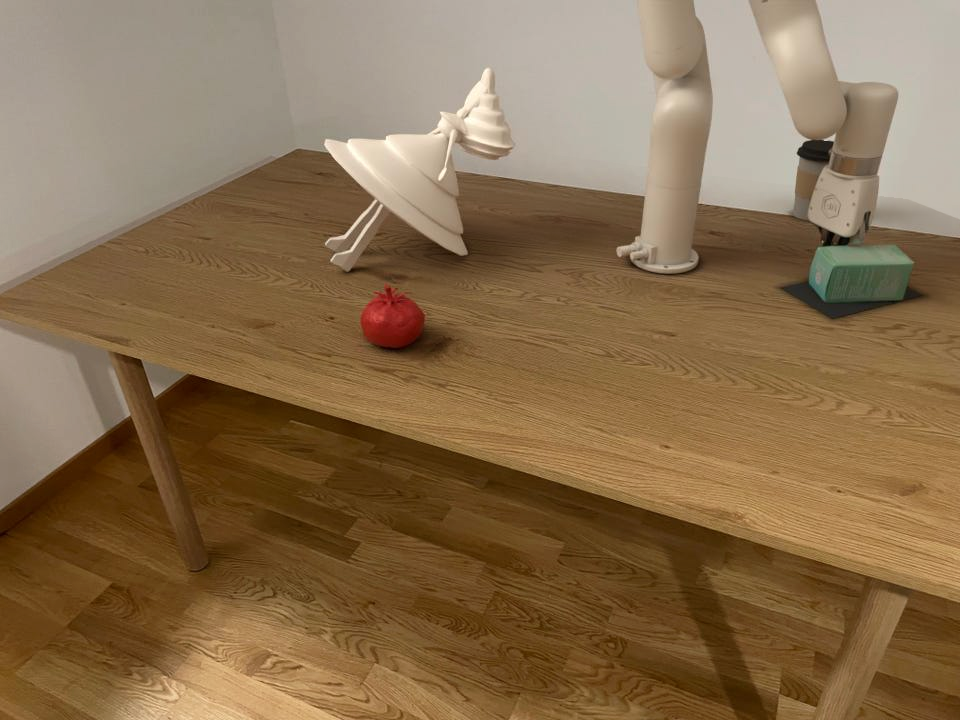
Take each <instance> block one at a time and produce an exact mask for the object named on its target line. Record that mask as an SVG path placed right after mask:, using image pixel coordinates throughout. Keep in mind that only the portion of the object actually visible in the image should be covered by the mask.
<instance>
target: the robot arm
mask: <svg viewBox="0 0 960 720" xmlns="http://www.w3.org/2000/svg"><path fill="white" fill-rule="evenodd" d="M747 1H748V2H749V3H748V4H749V6H750V9H751V12H752V16H753V17H754V21H755V24H756V26H757V30H758V33H759V35H760V38H761V42H762V44H763V47H764V50H765V51H766V53H767V55H768V57H769V58H770V61H771V63H772V66H773V68H774V71H775V74H776V77H777V79H778V82H779V85H780V89H781V91H782V94H783V97H784V99H785V100H784V101H785V102H786V105H787V108H788V111H789V114H790V116H791V120H792V123H793V126H794V128H795V130H796V131H797V133H798V134H799V135H801V136H802V137H803V138H805V139H807V140H827V139H829V138H830V137H833V136H834V135H835V136H834V140H833V141H834V144H833V148H831V149H830V150H829V151H828V155H829V156H831V157H830V161H829V165H826V166H825V167H824V168H823V170H822V172H821V174H820V176H819V179H818V181H817V184H816V186H815V189H814V192H813V195H812V199H811V202H810V206H809V210H808V219H809V220H810V221H809V222H811V224H812V225H813V226H814V227H815V228H817V229H818V231H819V234H820V243H822V247H826V246H849V244H852V245H861V244H864V243H865V237H866V234H867V233H869V231H870V229H871V227H872V224H873V220H874V217H875V213H876V208H877V203H878V198H879V197H878V196H879V189H880V176H879V175H878V173H879V169H880V166H881V162H882V158H883V154H884V152H885V148H886V145H887V140H888V136H889V133H890V130H891V126H892V122H893V119H894V115H895V111H896V108H897V104H898V100H899V91H898V89H897V88H896V86H894V85H892V84H890V83H883V82H876V81H863V82H849V81H843V80H842V81H841V80H839V77H838V75H837V72H836V68H835V66H834V63H833V60H832V56H831V52H830V50H829V46H828V44H827V43H828V42H827V40H826V35H825V31H824V27H823V21H822V18H821V14H820V11H819V7H818V4H817V1H816V0H747ZM637 8H638V9H637V10H638V17H639V24H640V29H641V30H640V32H641V37H642V44H643V45H642V47H643V57H644V60H645V63H646V66H647V67H648V69H649V70H650V71H651V72H652V76H653V82H654V87H655V93H656V99H657V100H656V103H655V105H654V109H653V112H652V115H651V116H652V118H651V122H650V123H651V124H650V132H649V133H650V134H649V135H650V136H649V150H648V159H647V160H648V161H647V171H646V182H645V191H644V199H643V209H642V219H641V229H640V235H637V236H635V237H634V242H631V244H628V245H627V244H626V245H620V246H617V247H616V255H617V257H618V258H623V257H628V256H629V259H630V262H632V264H634V265H635V266H636V267H637V268H640V269H642V270H644V271H648V272H652V273H655V274H666V275H669V274H670V275H671V274H672V275H673V274H682V273H686V272H689V271H691V270H694V269H695V268H696V267H697V266H698V264H699V260H700V259H699V258H700V257H699V254H698V252H697V251H695V250H694V249H693V241H694V235H695V228H696V221H697V214H698V208H699V201H700V196H701V195H700V194H701V188H702V181H703V180H702V179H703V174H704V166H705V160H706V154H707V148H708V141H709V139H710V138H709V137H710V133H711V132H710V131H711V126H712V120H713V119H712V118H713V108H714V107H713V104H714V95H713V88H712V80H711V72H710V64H709V57H708V56H709V55H708V49H707V42H706V35H705V30H704V29H705V28H704V26H703V23H702V22H701V20H700V19H699V18H698V16H697V14H696V8H695V1H694V0H637Z"/></svg>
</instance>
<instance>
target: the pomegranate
mask: <svg viewBox="0 0 960 720" xmlns="http://www.w3.org/2000/svg"><path fill="white" fill-rule="evenodd" d="M398 290H399V288H398V287H393V288H392V287H391V286H390V285H389V284H386V285H384V291H385V292H386V293H383V292H382V291H374V290H373V291H372V293H373V294H375V296H374V297H373V298H372V299H371V300H370V301H369V302H368V303H367V304H366V306H365V307H364V309H363V310H362V313H361V315H360V327H361V331H362V334H363V335H364V337H365V339H367V340H368V341H369V342H370V343H372V344H374V345H376V346H378V347H382V348H383V347H384V348H392V349H399V348H403V347H406V346H407V345H410V344H412V343H414V342H415V341H416V340H417V339H418V338H419V337H420V336H421V334H422V332H423V329H424V326H425V322H426V320H425V319H426V313H425V312H424V310H422V309H421V308H420V306H419V305H418V304H417V303H416V301H414V300H412V299H410V298H409V297H406V296H405V295H407V294H412V292H410V291H406V292H402V293H397V294H396V293H395V292H396V291H398Z"/></svg>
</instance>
